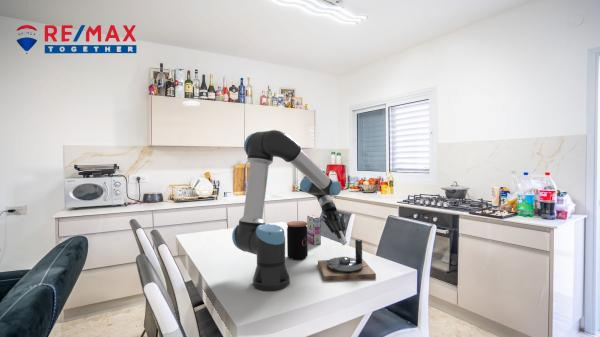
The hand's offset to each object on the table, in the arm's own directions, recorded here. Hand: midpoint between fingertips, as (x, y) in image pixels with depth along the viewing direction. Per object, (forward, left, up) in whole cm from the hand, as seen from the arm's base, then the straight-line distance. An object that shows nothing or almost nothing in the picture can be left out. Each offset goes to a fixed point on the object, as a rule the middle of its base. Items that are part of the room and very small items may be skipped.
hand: (344, 243), depth 145 cm
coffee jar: (-23, +12, -10) cm, 27 cm away
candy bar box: (-11, +39, -10) cm, 42 cm away
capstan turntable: (-3, -11, -7) cm, 14 cm away
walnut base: (-3, -11, -9) cm, 15 cm away
